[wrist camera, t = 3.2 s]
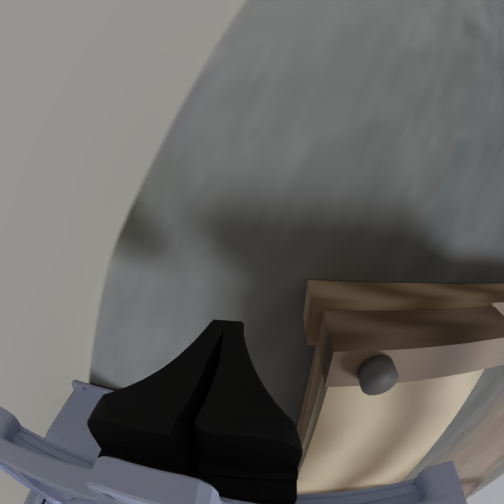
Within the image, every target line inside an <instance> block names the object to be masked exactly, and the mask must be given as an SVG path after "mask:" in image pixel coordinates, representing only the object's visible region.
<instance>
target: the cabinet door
mask: <svg viewBox="0 0 504 504" xmlns="http://www.w3.org/2000/svg"><path fill="white" fill-rule="evenodd" d="M317 345H318V350H319V356H320V362H321V368H322V374H323V380H324V386H325V387H346V386H360V387H361V390H362V392H363V393H365V394H367V395H379V394H382V393H385V392H387V391H388V390H390V389H391V388H392V387H393V386H394V385H395V384H396V383H402V382H411V381H419V380H426V379H433V378H440V377H446V376H452V375H458V374H463V373H468V372H473V371H478V370H483V369H487V368H491V367H496V366H500V365H504V316H503V315H502V314H501V313H500V312H499V311H498V310H497V309H496V308H495V307H482V308H465V309H443V310H407V311H339V310H323V316H322V321H321V327H320V333H319V338H318V343H317Z"/></svg>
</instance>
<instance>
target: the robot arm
mask: <svg viewBox="0 0 504 504" xmlns="http://www.w3.org/2000/svg"><path fill="white" fill-rule="evenodd" d="M72 386H73V388H74V391H73V392H72V394H71V396H70V397H69V398H68V400H67V402H66V403H65V405H64V406H63V408H62V409H61V411H60V412H59V414H58V415H57V417H56V418H55V420H54V422H53V423H52V425H51V427H50V428H49V430H48V431H47V433H46V436H45V438H42V437H40V436H39V435H37V434H35V433H33V432H31V431H29V430H28V429H26V428H24V427H22V426H21V425H20V423H19V421H18V420H17V419H16V418H15V416H14V415H12V414H11V413H10V412H8V411H7V410H5V409H3V408H2V407H0V468H1V469H2V470H3V471H4V472H6V473H7V474H9V475H10V476H11V477H13V478H14V479H16V480H17V481H19V482H20V483H22V484H23V485H25V486H26V487H27V488H29V489H30V490H31V491H30V492H29V495H28V496H27V498H26V501H25V503H24V504H467V502H466V498H465V495H464V492H463V489H462V486H461V483H460V480H459V477H458V474H457V472H456V469H455V466H454V463H453V461H449V462H445V463H442V464H439V465H435V466H432V467H429V468H426V469H425V470H423V471H422V472H420V473H419V474H418V476H417V477H416V478H415V479H411V480H407V481H403V482H398V483H393V484H388V485H383V486H378V487H372V488H365V489H358V490H350V491H341V492H330V493H315V494H297V480H298V467H299V464H300V461H301V459H302V455H303V449H302V444H301V440H300V437H299V434H298V432H297V429H296V427H295V424H294V422H293V421H292V420H291V419H290V418H289V417H288V416H287V415H286V414H285V413H284V412H283V411H282V410H281V408H280V407H279V406H278V405H277V404H276V402H275V401H274V400H273V398H272V397H271V396H270V394H269V393H268V391H267V390H266V389H265V387H264V385H263V384H262V382H261V380H260V378H259V377H258V375H257V373H256V371H255V369H254V366H253V364H252V361H251V359H250V356H249V353H248V350H247V347H246V343H245V338H244V324H243V323H242V322H240V321H225V320H213V321H211V323H210V324H209V325H208V326H207V327H206V329H205V330H204V331H203V332H202V333H201V334H200V335H199V337H198V338H197V339H196V340H195V341H194V342H193V343H192V344H191V345H190V346H189V347H188V348H187V349H186V350H184V351H183V352H182V353H181V354H180V355H179V356H178V357H177V358H175V359H174V360H173V361H172V362H170V363H169V364H168V365H166V366H165V367H163V368H162V369H160V370H159V371H157V372H155V373H154V374H152V375H150V376H149V377H147V378H145V379H143V380H141V381H139V382H137V383H135V384H132V385H130V386H128V387H125V388H122V389H119V390H116V391H113V390H109V389H105V388H102V387H98V386H94V385H91V384H88V383H84V382H81V381H78V380H73V382H72Z"/></svg>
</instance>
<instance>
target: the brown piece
mask: <svg viewBox="0 0 504 504" xmlns="http://www.w3.org/2000/svg"><path fill="white" fill-rule="evenodd" d="M482 307H495V308H496V309H497V310H498V311H499V312H500V313H501V314H502V315H503V316H504V283H499V284H450V283H387V282H351V281H323V280H308V281H307V290H306V298H305V306H304V313H303V321H304V328H305V336H306V343H307V346H315V349H314V354H313V359H312V364H311V369H310V374H309V379H308V383H307V388H306V392H305V397H304V401H303V406H302V410H301V414H300V418H299V422H298V426H297V432H298V434H299V437H300V440H301V444H302V445H303V442H304V439H305V436H306V432H307V429H308V426H309V422H310V419H311V415H312V412H313V408H314V405H315V401H316V397H317V393H318V390H319V386H320V382H321V378H322V368H321V362H320V356H319V350H318V345H317V343H318V338H319V333H320V327H321V321H322V316H323V310H339V311H407V310H443V309H465V308H482Z"/></svg>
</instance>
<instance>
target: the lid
mask: <svg viewBox="0 0 504 504" xmlns="http://www.w3.org/2000/svg"><path fill="white" fill-rule="evenodd" d="M483 370H484V369H483ZM483 370H478V371H473V372H468V373H463V374H458V375H452V376H446V377H440V378H433V379H426V380H419V381H411V382H402V383H396V384H395V385H394V386H393V387H392V388H391V389H390V390H388V391H387V392H385V393H382V394H379V395H367V394H365V393H363V392H362V390H361V387H360V386H346V387H325V386H324V380H323V374H322V378H321V382H320V386H319V390H318V393H317V397H316V401H315V405H314V408H313V412H312V415H311V419H310V422H309V426H308V429H307V432H306V436H305V439H304V442H303V445H302V449H303V455H302V459H301V461H300V464H299V467H298V480H297V494H315V493H330V492H341V491H350V490H358V489H365V488H372V487H378V486H383V485H388V484H393V483H398V482H401V481H402V480H403V479H404V478H405V477H406V476H407V475H408V474H409V473H410V472H411V470H412V469H413V468H414V467H415V466H416V465H417V464H418V463H419V462H420V460H421V459H422V458H423V457H424V456H425V455H426V453H427V452H428V451H429V450H430V449H431V447H432V446H433V445H434V444H435V442H436V441H437V440H438V439H439V437H440V436H441V435H442V433H443V432H444V431H445V429H446V428H447V427H448V425H449V424H450V423H451V421H452V420H453V418H454V417H455V415H456V414H457V413H458V411H459V410H460V408H461V407H462V405H463V404H464V402H465V400H466V399H467V397H468V396H469V394H470V393H471V391H472V389H473V388H474V386H475V384H476V383H477V381H478V379H479V377H480V376H481V374H482V372H483Z"/></svg>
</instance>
